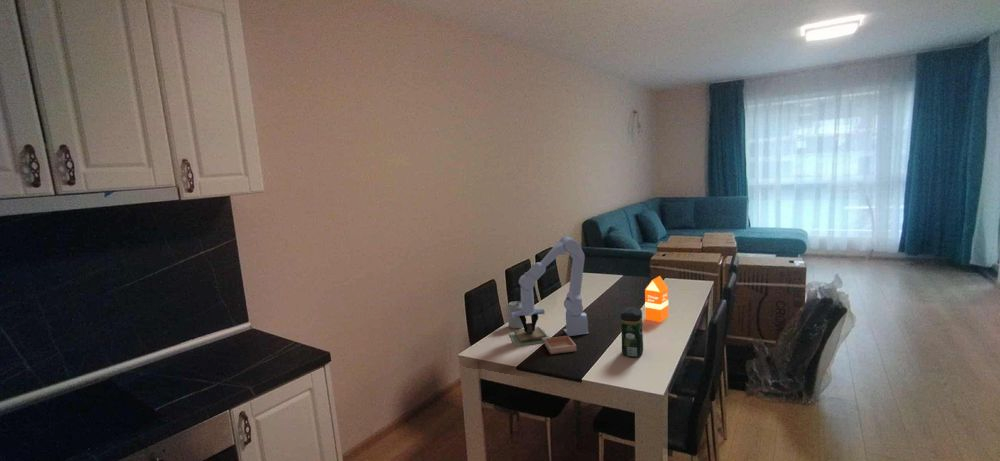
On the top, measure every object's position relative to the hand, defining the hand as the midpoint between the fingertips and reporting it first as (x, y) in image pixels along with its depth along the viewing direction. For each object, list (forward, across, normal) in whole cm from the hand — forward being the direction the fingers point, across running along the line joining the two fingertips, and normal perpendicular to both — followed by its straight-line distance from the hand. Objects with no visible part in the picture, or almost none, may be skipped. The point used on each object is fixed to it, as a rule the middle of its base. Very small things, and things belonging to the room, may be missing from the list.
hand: (529, 330), depth 202 cm
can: (+4, -3, +16) cm, 17 cm away
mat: (+3, 0, 0) cm, 3 cm away
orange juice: (+4, +64, +5) cm, 64 cm away
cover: (+2, 0, 0) cm, 2 cm away
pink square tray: (+3, +10, -14) cm, 18 cm away
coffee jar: (+4, +36, -28) cm, 46 cm away
